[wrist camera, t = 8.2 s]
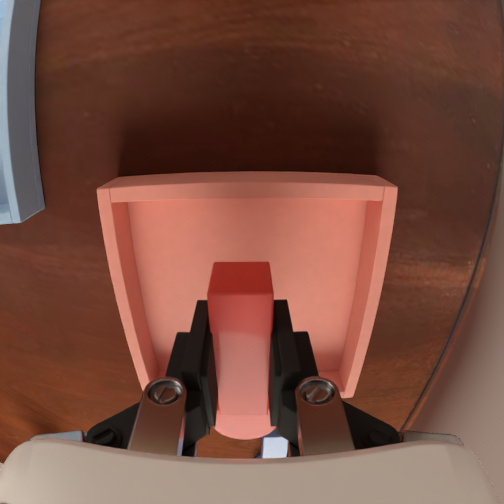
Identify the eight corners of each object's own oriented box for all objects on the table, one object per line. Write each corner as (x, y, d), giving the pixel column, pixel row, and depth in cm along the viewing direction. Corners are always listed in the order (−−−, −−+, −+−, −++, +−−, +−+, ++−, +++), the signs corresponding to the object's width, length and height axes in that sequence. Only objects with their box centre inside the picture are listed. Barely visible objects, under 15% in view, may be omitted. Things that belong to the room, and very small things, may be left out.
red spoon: (286, 260, 11) (294, 292, 9) (275, 421, 15) (278, 454, 13) (196, 260, 11) (186, 293, 9) (215, 421, 15) (212, 455, 13)
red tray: (377, 175, 15) (398, 186, 13) (344, 370, 21) (352, 397, 18) (116, 176, 15) (95, 188, 13) (153, 371, 21) (144, 398, 18)
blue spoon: (295, 414, 23) (298, 436, 21) (285, 466, 27) (287, 483, 25) (254, 415, 23) (255, 437, 21) (253, 467, 27) (254, 485, 25)
